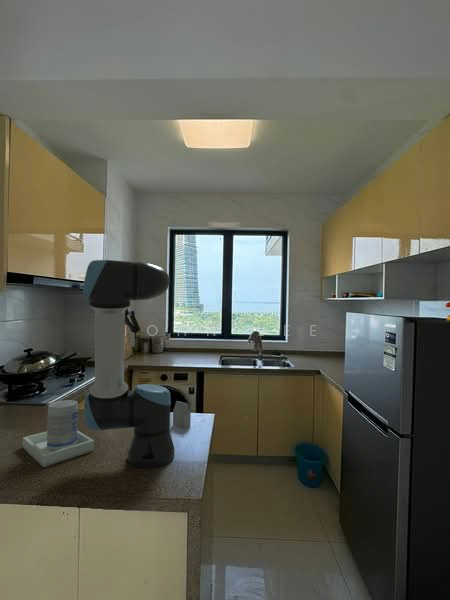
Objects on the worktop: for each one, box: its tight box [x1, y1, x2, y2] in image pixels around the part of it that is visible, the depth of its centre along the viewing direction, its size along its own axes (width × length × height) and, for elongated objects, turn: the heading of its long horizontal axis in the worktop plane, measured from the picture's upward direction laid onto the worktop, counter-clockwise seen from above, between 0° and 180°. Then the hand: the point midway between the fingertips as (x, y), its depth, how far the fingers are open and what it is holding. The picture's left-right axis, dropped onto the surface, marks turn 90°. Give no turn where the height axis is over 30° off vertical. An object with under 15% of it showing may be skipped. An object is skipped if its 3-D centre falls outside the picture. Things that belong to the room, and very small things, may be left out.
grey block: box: [172, 400, 192, 430], centre depth 133 cm, size 4×7×10 cm, turn 54°
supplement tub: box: [46, 399, 79, 451], centre depth 111 cm, size 10×10×15 cm
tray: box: [22, 429, 95, 468], centre depth 110 cm, size 20×16×4 cm
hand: (118, 347), depth 140 cm, fingers open, 13 cm apart
